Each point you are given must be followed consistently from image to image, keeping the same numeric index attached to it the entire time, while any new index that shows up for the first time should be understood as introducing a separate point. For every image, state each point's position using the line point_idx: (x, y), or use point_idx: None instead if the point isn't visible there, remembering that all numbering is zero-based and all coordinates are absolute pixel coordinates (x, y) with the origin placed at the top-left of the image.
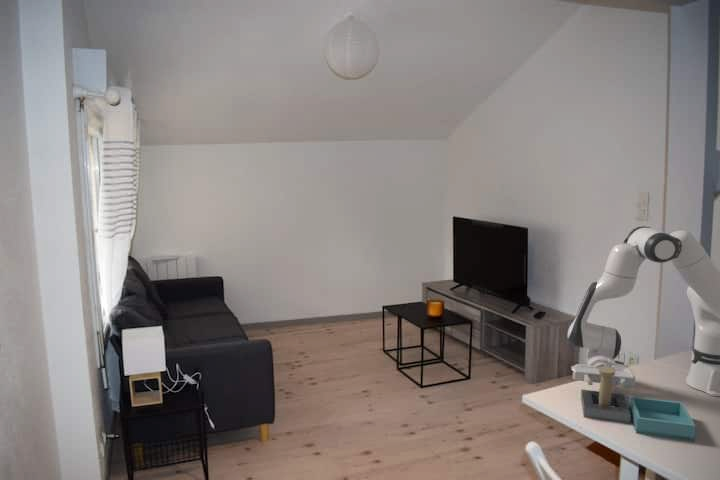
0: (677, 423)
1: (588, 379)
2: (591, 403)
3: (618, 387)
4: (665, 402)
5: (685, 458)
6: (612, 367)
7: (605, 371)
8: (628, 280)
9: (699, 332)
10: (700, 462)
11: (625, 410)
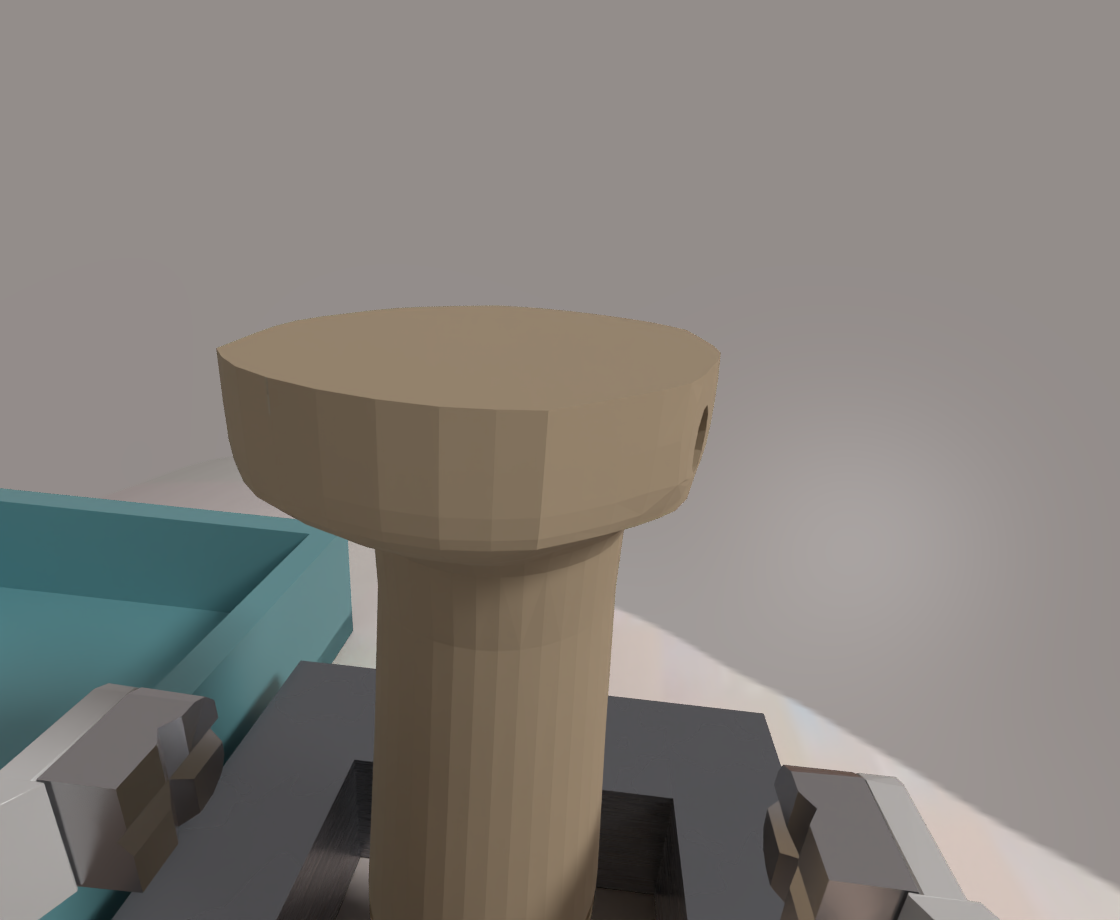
0: (71, 496)
1: (907, 803)
2: (695, 814)
3: (216, 749)
4: None
5: (244, 497)
6: (253, 357)
7: (577, 319)
8: None
9: None
10: (198, 485)
11: (318, 702)
